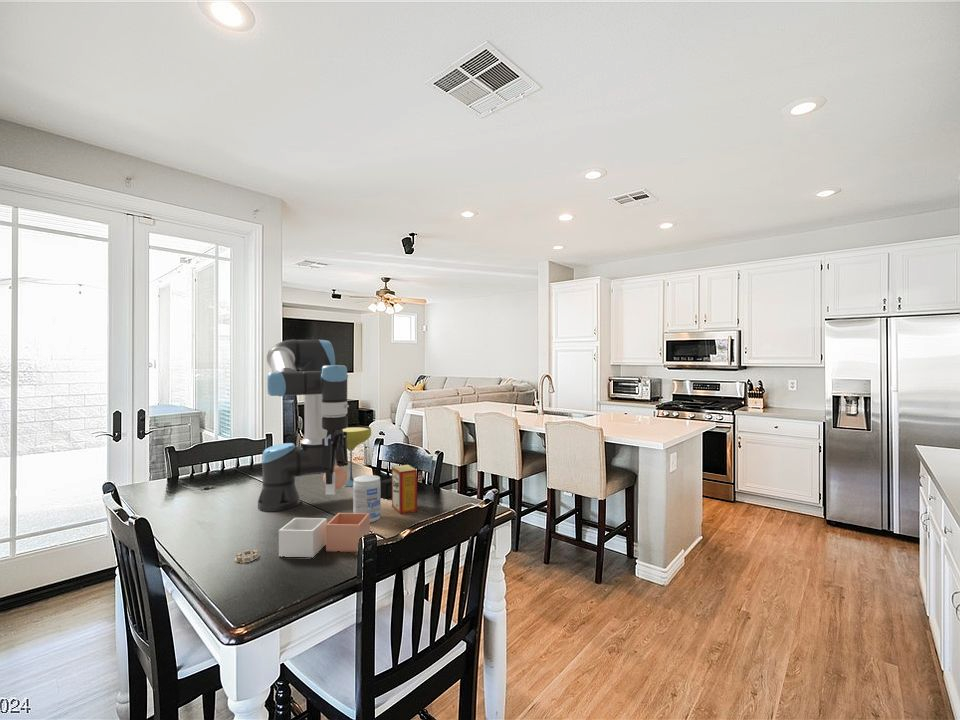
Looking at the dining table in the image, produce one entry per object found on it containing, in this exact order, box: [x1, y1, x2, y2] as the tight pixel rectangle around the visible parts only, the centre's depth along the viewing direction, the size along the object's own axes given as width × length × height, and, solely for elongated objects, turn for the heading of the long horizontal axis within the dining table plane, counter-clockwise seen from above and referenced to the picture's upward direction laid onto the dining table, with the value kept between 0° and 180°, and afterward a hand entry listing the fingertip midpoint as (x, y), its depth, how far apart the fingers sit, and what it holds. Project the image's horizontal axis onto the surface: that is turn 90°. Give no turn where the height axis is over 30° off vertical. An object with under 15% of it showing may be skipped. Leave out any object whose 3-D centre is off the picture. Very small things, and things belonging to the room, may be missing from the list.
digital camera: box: [380, 477, 392, 500], centre depth 191 cm, size 10×5×7 cm, turn 143°
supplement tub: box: [352, 474, 382, 523], centre depth 164 cm, size 10×10×15 cm
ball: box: [322, 465, 348, 491], centre depth 141 cm, size 7×7×7 cm
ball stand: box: [234, 549, 259, 564], centre depth 133 cm, size 6×6×1 cm
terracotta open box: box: [325, 512, 371, 553], centre depth 142 cm, size 10×10×8 cm
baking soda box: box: [391, 464, 418, 515], centre depth 175 cm, size 10×6×16 cm
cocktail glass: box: [343, 425, 372, 488], centre depth 209 cm, size 18×18×25 cm
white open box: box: [278, 517, 328, 559], centre depth 138 cm, size 10×10×8 cm
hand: (335, 490), depth 141 cm, fingers closed on ball, 7 cm apart
